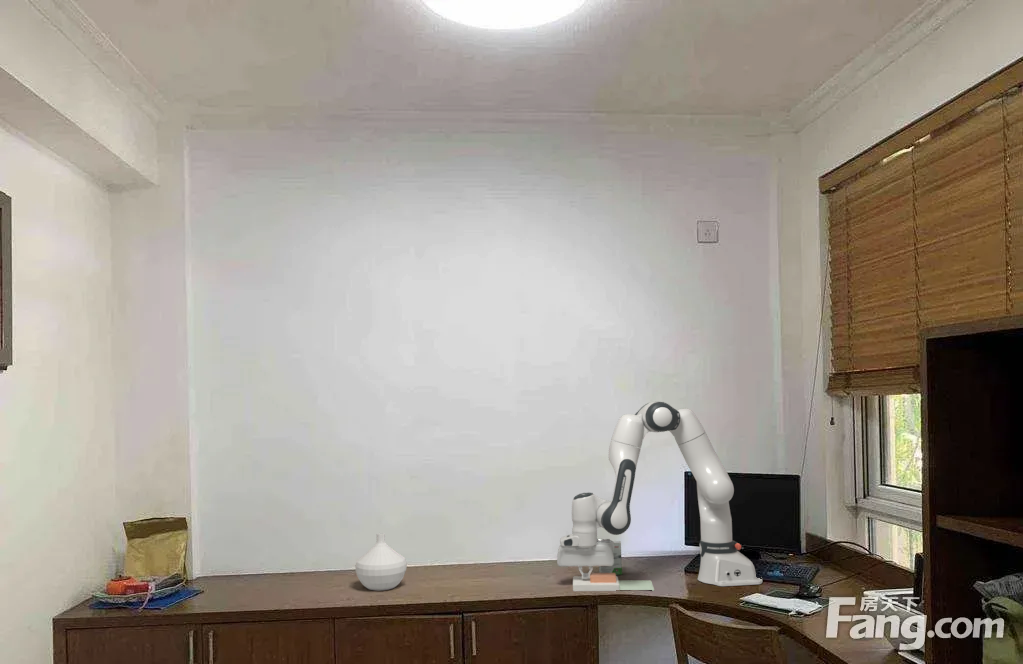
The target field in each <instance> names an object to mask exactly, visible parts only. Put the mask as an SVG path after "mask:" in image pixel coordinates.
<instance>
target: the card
mask: <svg viewBox="0 0 1023 664" xmlns="http://www.w3.org/2000/svg"><path fill="white" fill-rule="evenodd" d="M616 576H617V575H616V574H615V573H599V572H591V574H590V583H616Z"/></svg>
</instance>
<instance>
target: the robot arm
mask: <svg viewBox="0 0 1023 664" xmlns="http://www.w3.org/2000/svg"><path fill="white" fill-rule="evenodd" d="M651 432H652V433H664V432H670V433H671V435H672V436H673V437H674V438H673V439H674V440H675V442H676V445H677V446H678V448H679V451H680V453H681V455H682V457H683V460H684V461H685V463H686V465H687V466H688V468H689V470H690V472H691V473H692V475H693V477H694V479H695V481H696V492H697V501H698V503H697V504H698V510H699V517H700V518H699V520H700V540H699V555H700V564H699V571H698V576H697V580H698V581H699V582H700V583H701V582H702V583H704V584H709V585H715V586H718V587H733V586H737V587H738V586H750V585H752V586H753V585H761V584H762V583H763V578H762V579H760V578H757V577H756V574H757V573H756V568H755V565H754V564H753V561H751V559H749V558H748V557H747V556H745V555H744V554H743V553H741V552H740V550H741V549H742V545H741V544H740V543H738V542H737V541H735V540H733V522H732V521H733V519H732V514H731V509H730V508H731V507H730V501H731V500H732V498H733V496H734V492H735V488H734V484H733V481H732V480H731V477H730V476H729V474H728V472H727V470H726V468H725V467H724V465H723V463H722V461H721V460H720V457H719V456H718V454H717V453H716V451H715V448H714V447H713V445H712V443H711V440H710V439H709V436H708V434H707V432H706V430H705V429H704V426H703V425H702V423H701V421H700V419H699V417H697V416H696V414H695V413H694V411H693V410H691V409H690V408H686V407H685V408H679V409H676V408H674V407H673V406H671V405H670V404H669V403H667V402H664V401H651V402H648V403H645V404H643V406H641V407H640V409H638V410H637V412H635V414H633V413H626V414H623V415H621V416H620V417H619V419H618V421H617V422H616V425H615V428H614V430H613V433H612V437H611V440H610V443H609V448H608V460H609V463H610V464H611V466H612V468H613V470H614V473H615V480H614V481H615V483H614V487H613V493H612V498H611V501H610V500H607V499H603V498H601V497H599V496H598V495H596V494H594V493H593V492H582V493H579V494H576V495H575V496H574V497H573V499H572V502H571V503H572V504H571V521H572V528H571V529H572V530H571V533H570V534H568V535H564V536H561V538H560V540H559V544H560V545H559V546H558V548H557V549H558V550H557V556H556V565H557V566H558V567H560V568H561V567H578V570H579V572H580V574H581V576H582V579H590V574H591V573H593V572H592V571H593V570H594V567H599V566H612V565H613V564H614V557H613V551H614V542H613V541H614V540H611V539H610V538H605V539H604V538H598V529H599V528H603V529H604V530H605V531H606V532H608V534H611V535H615V536H618V535H622V534H624V533H625V532H626V531H628V529H629V528H630V525H631V523H632V519H631V518H632V517H631V515H632V514H631V508H630V507H631V499H632V494H633V489H634V483H635V478H636V470H637V465H638V461H639V458H640V457H639V456H640V453H641V448H642V445H643V441H644V438H645V436H646V435H647V434H648V433H651ZM610 541H611V542H610ZM583 567H588V570H589V571H588V572H584V571H583Z"/></svg>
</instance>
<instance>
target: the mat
mask: <svg viewBox="0 0 1023 664" xmlns="http://www.w3.org/2000/svg"><path fill="white" fill-rule="evenodd" d="M618 582H619V590H652V591H653V592H655V587H654V585H653V583H652V580H648V579H645V580H644V579H643V580H642V579H641V580H640V579H639V580H628V579H627V580H626V579H625V580H618ZM652 591H651V592H652Z"/></svg>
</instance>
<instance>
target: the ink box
mask: <svg viewBox="0 0 1023 664" xmlns="http://www.w3.org/2000/svg"><path fill="white" fill-rule="evenodd" d="M611 541H613V542H614V551H613V557H614V564H613V565H612V566H598V573H615V574H616V576H618V575H619V576H621V575H623V563H622V562H623V560H622V559H623V558H622V542H621V541H620V540H611ZM611 541H610V542H611Z"/></svg>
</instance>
